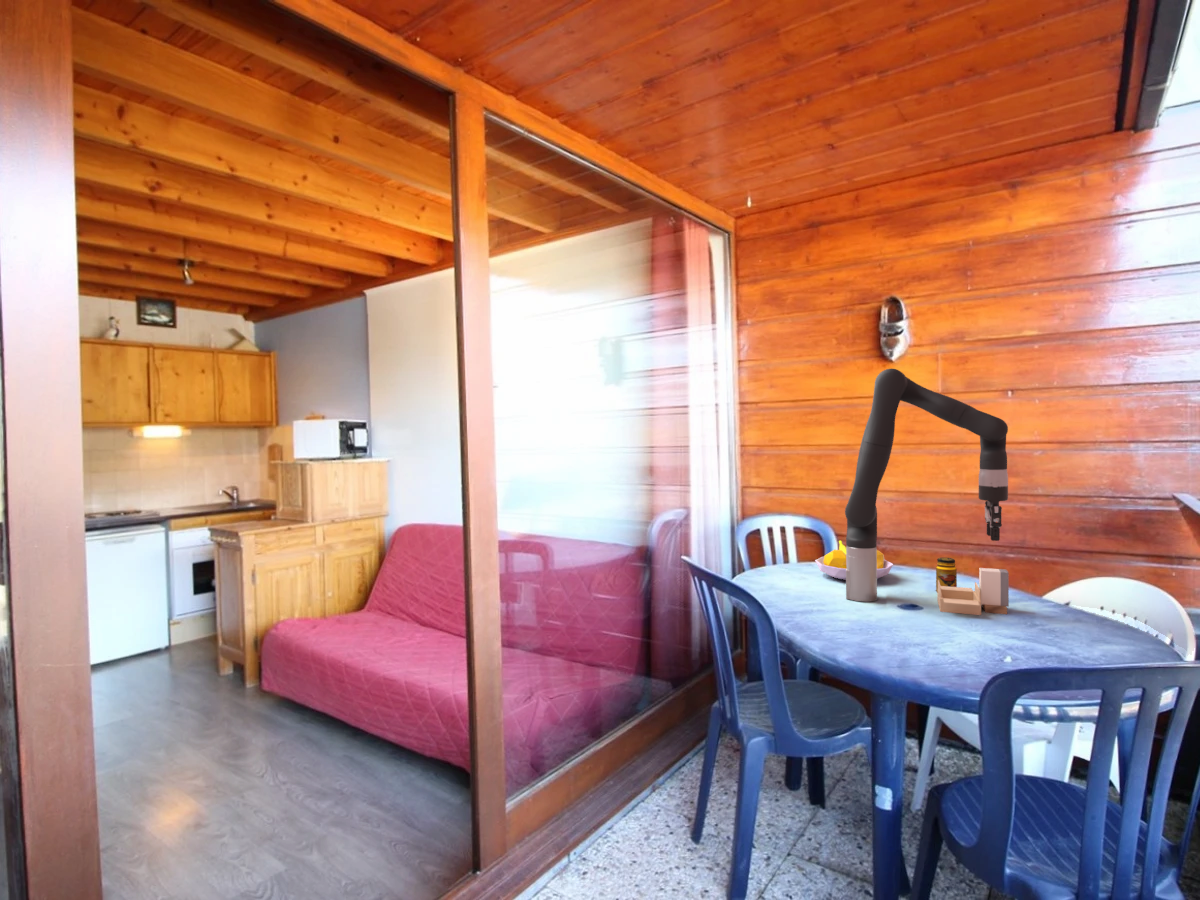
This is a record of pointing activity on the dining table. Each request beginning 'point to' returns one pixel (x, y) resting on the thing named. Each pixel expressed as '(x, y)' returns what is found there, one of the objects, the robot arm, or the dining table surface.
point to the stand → (994, 609)
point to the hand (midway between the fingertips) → (992, 538)
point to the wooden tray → (959, 599)
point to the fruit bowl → (837, 563)
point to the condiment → (946, 572)
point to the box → (994, 586)
